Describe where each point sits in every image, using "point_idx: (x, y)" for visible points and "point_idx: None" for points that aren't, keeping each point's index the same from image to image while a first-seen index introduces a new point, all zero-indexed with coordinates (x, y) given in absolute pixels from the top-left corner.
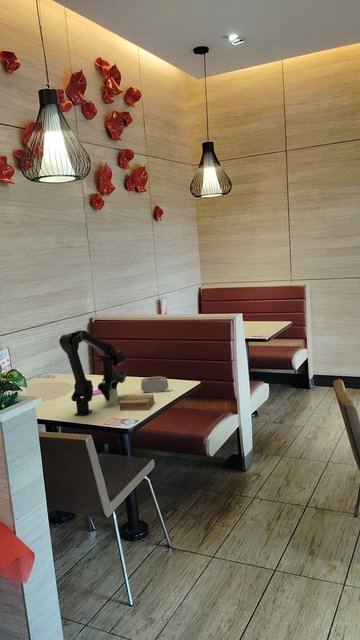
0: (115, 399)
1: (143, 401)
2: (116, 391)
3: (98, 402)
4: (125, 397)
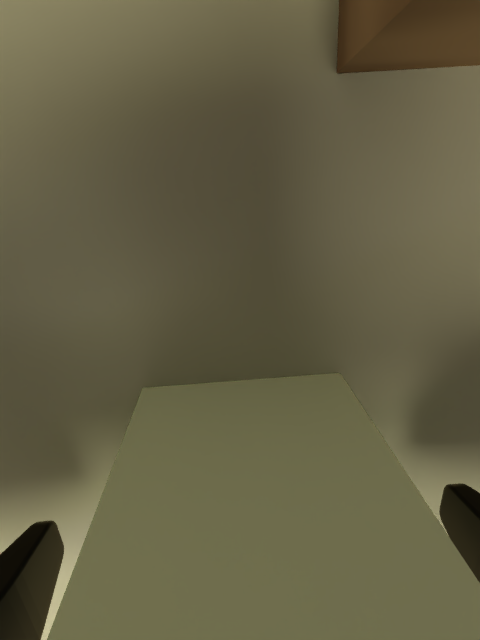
0: (295, 408)
1: None
2: (143, 593)
3: None
4: None
